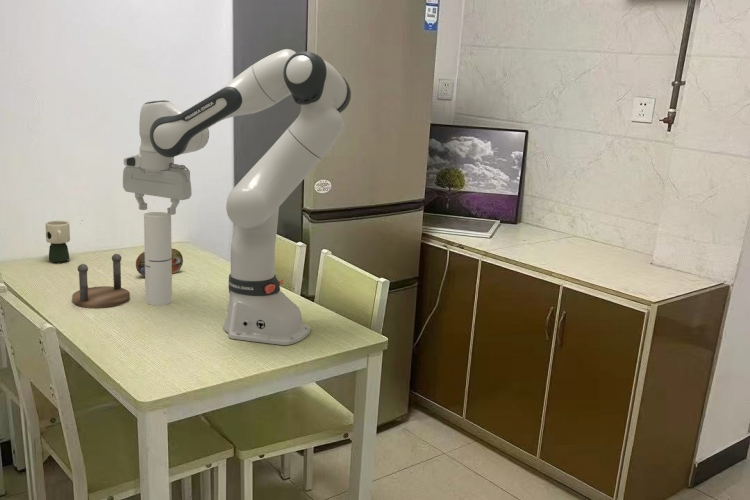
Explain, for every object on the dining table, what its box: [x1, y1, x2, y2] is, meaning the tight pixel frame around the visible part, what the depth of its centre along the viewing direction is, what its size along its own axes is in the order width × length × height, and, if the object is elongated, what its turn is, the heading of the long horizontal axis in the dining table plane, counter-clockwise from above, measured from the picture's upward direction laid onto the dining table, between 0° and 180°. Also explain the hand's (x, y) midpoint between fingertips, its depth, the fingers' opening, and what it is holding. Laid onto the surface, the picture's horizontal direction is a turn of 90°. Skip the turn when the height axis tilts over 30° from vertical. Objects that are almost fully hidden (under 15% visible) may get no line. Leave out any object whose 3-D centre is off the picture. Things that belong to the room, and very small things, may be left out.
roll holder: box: [71, 253, 131, 309], centre depth 192 cm, size 15×16×12 cm
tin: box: [135, 248, 184, 278], centre depth 219 cm, size 15×3×8 cm, turn 133°
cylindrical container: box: [143, 211, 173, 306], centre depth 192 cm, size 7×7×25 cm
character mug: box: [44, 220, 71, 263], centre depth 225 cm, size 11×7×13 cm, turn 30°
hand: (157, 211), depth 189 cm, fingers open, 8 cm apart
